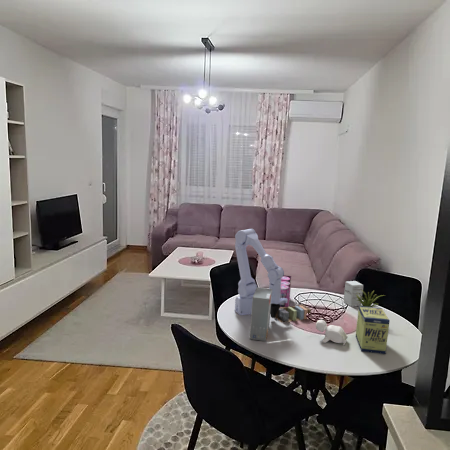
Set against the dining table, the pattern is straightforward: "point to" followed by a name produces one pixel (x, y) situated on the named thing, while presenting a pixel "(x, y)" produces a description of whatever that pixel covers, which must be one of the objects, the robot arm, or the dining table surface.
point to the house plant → (369, 300)
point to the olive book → (292, 313)
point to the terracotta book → (304, 311)
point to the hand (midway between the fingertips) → (272, 317)
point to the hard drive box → (260, 314)
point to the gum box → (285, 289)
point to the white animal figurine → (332, 332)
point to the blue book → (299, 312)
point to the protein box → (372, 329)
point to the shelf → (293, 308)
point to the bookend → (283, 315)
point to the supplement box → (352, 293)
